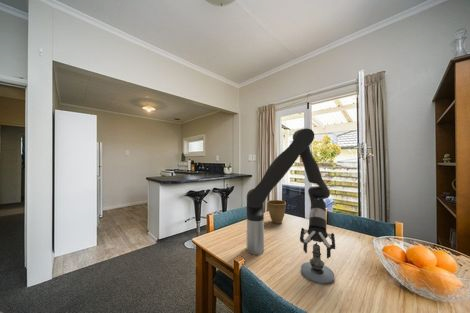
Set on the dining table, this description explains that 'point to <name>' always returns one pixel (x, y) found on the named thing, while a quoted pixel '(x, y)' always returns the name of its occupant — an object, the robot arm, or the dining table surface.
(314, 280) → the dish
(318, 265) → the dark ornate figurine
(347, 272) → the dining table surface
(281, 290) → the dining table surface
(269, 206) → the plant pot
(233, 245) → the dining table surface
